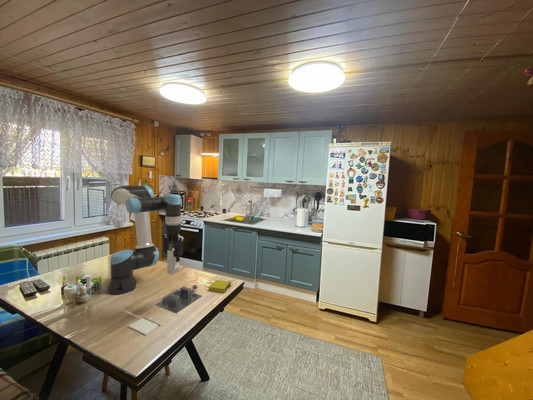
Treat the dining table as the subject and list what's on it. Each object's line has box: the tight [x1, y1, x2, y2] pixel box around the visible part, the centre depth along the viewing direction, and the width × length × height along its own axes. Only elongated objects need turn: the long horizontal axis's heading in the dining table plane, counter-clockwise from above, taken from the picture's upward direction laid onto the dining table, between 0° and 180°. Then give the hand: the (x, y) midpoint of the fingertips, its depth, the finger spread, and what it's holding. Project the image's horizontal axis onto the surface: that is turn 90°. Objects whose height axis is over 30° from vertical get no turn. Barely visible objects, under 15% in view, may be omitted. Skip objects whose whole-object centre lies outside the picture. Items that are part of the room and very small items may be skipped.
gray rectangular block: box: [166, 247, 180, 275], centre depth 122 cm, size 4×7×12 cm, turn 156°
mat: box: [128, 317, 162, 336], centre depth 110 cm, size 12×16×1 cm
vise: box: [155, 284, 203, 314], centre depth 130 cm, size 16×23×6 cm
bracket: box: [206, 279, 232, 294], centre depth 144 cm, size 16×8×15 cm
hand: (173, 266), depth 121 cm, fingers closed on gray rectangular block, 4 cm apart
